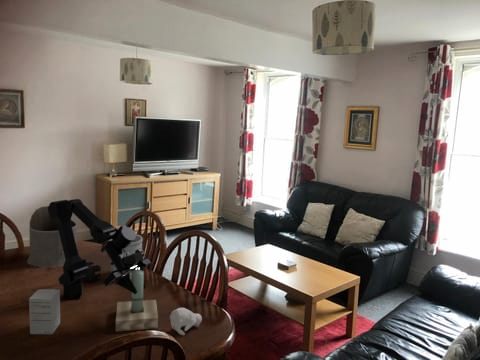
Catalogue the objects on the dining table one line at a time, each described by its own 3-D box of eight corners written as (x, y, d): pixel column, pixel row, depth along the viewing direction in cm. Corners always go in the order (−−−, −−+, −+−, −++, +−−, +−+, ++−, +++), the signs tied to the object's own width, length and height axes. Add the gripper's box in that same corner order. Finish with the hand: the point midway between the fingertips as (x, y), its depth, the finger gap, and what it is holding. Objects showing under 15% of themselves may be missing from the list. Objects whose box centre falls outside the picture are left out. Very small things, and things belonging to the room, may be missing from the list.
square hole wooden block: (115, 332, 130) (115, 321, 129) (117, 312, 143) (117, 302, 143) (157, 328, 134) (157, 317, 133) (155, 309, 147) (155, 299, 146)
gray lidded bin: (67, 248, 208) (67, 203, 205) (94, 265, 187) (94, 215, 183) (20, 257, 192) (19, 208, 188) (44, 276, 170) (43, 222, 167)
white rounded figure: (169, 306, 132) (197, 300, 140) (166, 330, 133) (194, 323, 141) (178, 314, 127) (207, 307, 135) (175, 338, 128) (204, 330, 136)
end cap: (74, 277, 172) (74, 263, 171) (89, 273, 177) (89, 259, 176) (86, 284, 165) (86, 269, 164) (101, 280, 171) (101, 265, 170)
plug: (131, 312, 135) (131, 275, 133) (131, 306, 139) (131, 270, 137) (143, 311, 136) (144, 274, 134) (143, 306, 140) (143, 269, 138)
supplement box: (38, 322, 133) (38, 288, 131) (60, 323, 134) (60, 289, 132) (29, 334, 126) (28, 298, 124) (52, 334, 126) (51, 298, 124)
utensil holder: (110, 282, 168) (110, 244, 166) (107, 270, 182) (107, 234, 179) (144, 278, 174) (145, 242, 172) (139, 267, 188) (139, 232, 185)
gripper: (110, 250, 128) (134, 289, 125) (147, 237, 144) (170, 271, 141) (93, 267, 133) (116, 305, 129) (131, 252, 149) (152, 286, 146)
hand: (140, 291), depth 136 cm, fingers closed on plug, 4 cm apart
